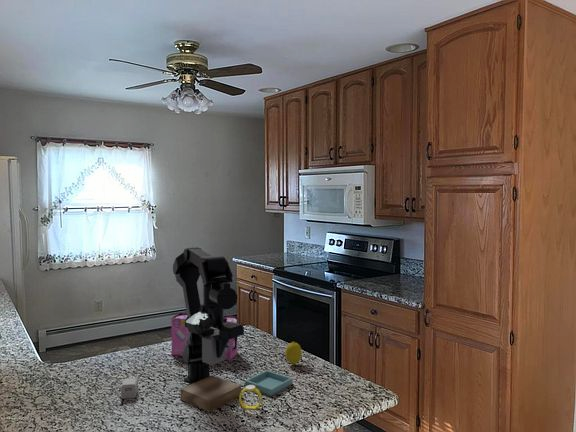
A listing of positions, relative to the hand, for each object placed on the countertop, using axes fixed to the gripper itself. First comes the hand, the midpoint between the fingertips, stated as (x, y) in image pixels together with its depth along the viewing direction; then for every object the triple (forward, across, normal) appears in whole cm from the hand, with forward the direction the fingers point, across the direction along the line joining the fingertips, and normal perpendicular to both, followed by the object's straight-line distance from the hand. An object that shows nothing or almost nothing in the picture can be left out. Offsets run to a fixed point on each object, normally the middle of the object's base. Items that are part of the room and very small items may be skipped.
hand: (213, 355), depth 128 cm
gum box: (+12, -28, +22) cm, 37 cm away
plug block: (+2, 0, 0) cm, 2 cm away
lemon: (+12, +3, +33) cm, 36 cm away
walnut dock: (+12, 0, -1) cm, 12 cm away
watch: (+12, +13, +2) cm, 18 cm away
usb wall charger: (+12, -21, -13) cm, 28 cm away
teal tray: (+12, +8, +15) cm, 21 cm away
